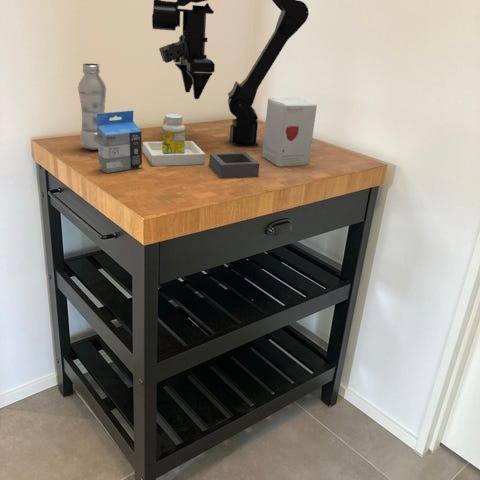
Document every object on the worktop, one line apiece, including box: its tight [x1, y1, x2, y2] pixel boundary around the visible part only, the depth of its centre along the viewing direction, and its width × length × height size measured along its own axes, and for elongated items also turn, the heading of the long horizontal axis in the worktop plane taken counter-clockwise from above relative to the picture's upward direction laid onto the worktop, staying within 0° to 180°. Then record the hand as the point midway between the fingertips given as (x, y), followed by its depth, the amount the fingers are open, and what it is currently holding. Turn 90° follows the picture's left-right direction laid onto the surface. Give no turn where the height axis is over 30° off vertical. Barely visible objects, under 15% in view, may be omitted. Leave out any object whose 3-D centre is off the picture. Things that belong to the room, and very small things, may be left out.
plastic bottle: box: [77, 62, 107, 151], centre depth 125 cm, size 6×7×20 cm
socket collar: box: [208, 151, 260, 179], centre depth 121 cm, size 9×9×3 cm
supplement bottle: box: [161, 113, 186, 154], centre depth 125 cm, size 5×5×10 cm
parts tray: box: [142, 140, 206, 167], centre depth 126 cm, size 13×12×2 cm
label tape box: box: [97, 110, 143, 174], centre depth 114 cm, size 9×4×12 cm, turn 129°
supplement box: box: [261, 97, 318, 168], centre depth 128 cm, size 9×9×15 cm
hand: (191, 95), depth 138 cm, fingers open, 9 cm apart
